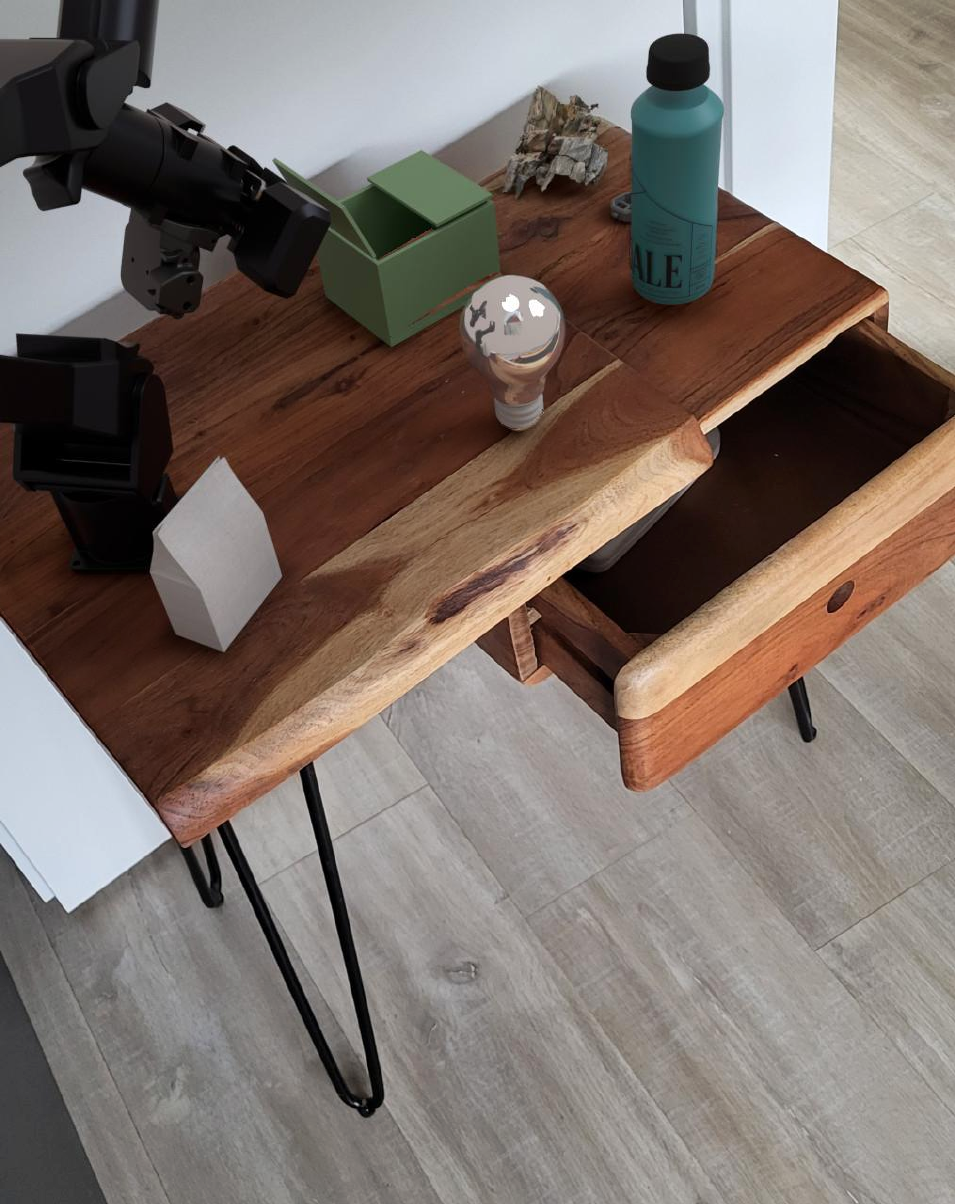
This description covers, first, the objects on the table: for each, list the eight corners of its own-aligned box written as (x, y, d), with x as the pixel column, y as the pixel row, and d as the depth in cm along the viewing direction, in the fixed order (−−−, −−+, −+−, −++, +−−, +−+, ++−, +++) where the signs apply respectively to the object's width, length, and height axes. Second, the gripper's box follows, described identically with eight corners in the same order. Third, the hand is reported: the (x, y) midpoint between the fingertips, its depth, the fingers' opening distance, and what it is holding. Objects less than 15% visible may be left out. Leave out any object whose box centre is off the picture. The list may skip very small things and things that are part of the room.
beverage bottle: (714, 270, 102) (729, 16, 87) (715, 324, 98) (731, 68, 83) (629, 271, 103) (629, 20, 88) (627, 325, 99) (626, 71, 83)
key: (599, 215, 108) (628, 229, 106) (598, 203, 107) (627, 217, 105) (699, 156, 113) (728, 168, 111) (699, 145, 112) (729, 157, 110)
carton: (391, 347, 99) (375, 257, 93) (325, 296, 104) (306, 207, 98) (501, 284, 103) (493, 193, 97) (433, 238, 108) (421, 149, 102)
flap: (376, 256, 93) (373, 259, 93) (308, 207, 98) (305, 210, 98) (344, 206, 89) (341, 209, 89) (274, 157, 94) (271, 160, 94)
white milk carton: (282, 576, 85) (248, 464, 78) (224, 652, 82) (182, 542, 74) (235, 560, 87) (197, 448, 79) (175, 634, 83) (130, 524, 75)
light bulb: (456, 450, 91) (437, 310, 82) (491, 386, 96) (476, 245, 86) (552, 469, 89) (543, 326, 80) (583, 402, 94) (577, 260, 84)
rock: (634, 109, 117) (630, 68, 114) (597, 203, 108) (592, 160, 105) (542, 112, 120) (536, 72, 117) (499, 204, 110) (491, 163, 108)
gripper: (18, 217, 89) (197, 280, 102) (155, 341, 79) (335, 394, 92) (84, 61, 86) (260, 146, 98) (235, 170, 76) (411, 249, 88)
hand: (312, 234), depth 94 cm, fingers closed
